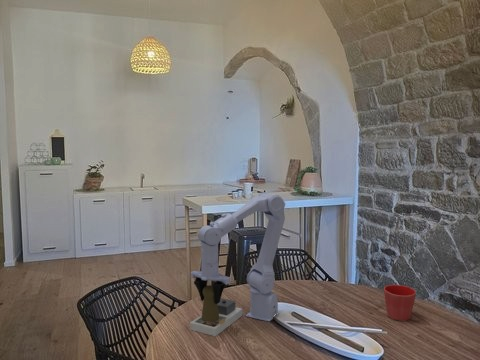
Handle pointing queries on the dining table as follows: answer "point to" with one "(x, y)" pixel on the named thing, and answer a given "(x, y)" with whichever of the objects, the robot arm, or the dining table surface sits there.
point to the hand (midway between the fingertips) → (210, 301)
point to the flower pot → (399, 301)
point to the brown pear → (209, 305)
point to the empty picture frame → (226, 318)
